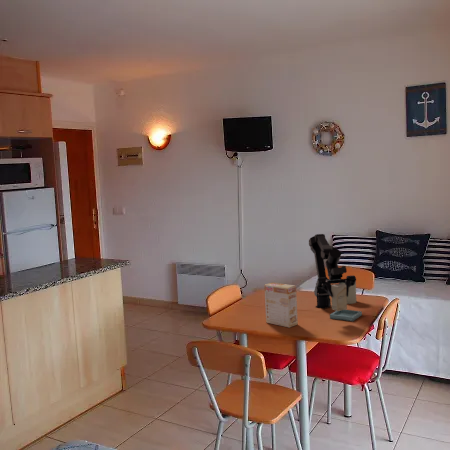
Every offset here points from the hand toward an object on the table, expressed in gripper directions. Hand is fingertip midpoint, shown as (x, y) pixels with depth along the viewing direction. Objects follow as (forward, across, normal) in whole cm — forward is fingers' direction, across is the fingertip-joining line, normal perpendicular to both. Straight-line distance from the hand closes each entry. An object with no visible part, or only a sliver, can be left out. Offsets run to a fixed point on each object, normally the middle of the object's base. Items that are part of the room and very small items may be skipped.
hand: (339, 296), depth 247 cm
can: (-17, +16, +38) cm, 44 cm away
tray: (+2, +6, +17) cm, 18 cm away
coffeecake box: (+5, -28, +15) cm, 32 cm away
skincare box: (+4, 0, +6) cm, 7 cm away
